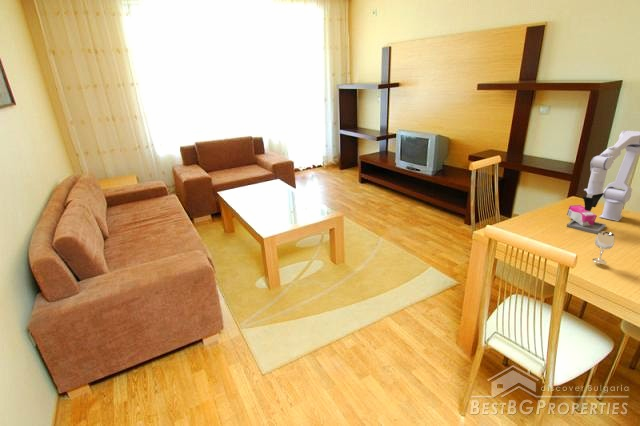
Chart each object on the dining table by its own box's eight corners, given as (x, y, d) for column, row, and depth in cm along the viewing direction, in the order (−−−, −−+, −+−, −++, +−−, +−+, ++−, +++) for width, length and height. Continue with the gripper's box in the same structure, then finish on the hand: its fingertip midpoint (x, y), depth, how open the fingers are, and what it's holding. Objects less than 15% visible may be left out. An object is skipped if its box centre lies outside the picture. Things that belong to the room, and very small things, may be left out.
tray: (574, 220, 176) (575, 217, 175) (605, 227, 166) (605, 224, 166) (566, 227, 168) (566, 224, 168) (597, 234, 159) (598, 231, 159)
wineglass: (586, 258, 138) (593, 231, 134) (599, 257, 138) (606, 230, 134) (598, 265, 133) (606, 237, 128) (612, 263, 133) (620, 236, 129)
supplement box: (577, 214, 177) (593, 225, 167) (566, 215, 177) (581, 226, 167) (581, 204, 174) (597, 215, 164) (569, 205, 174) (585, 216, 164)
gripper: (591, 177, 167) (585, 203, 171) (581, 183, 158) (575, 210, 163) (609, 179, 161) (602, 206, 166) (600, 185, 153) (593, 213, 158)
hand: (590, 208), depth 164 cm, fingers open, 7 cm apart
